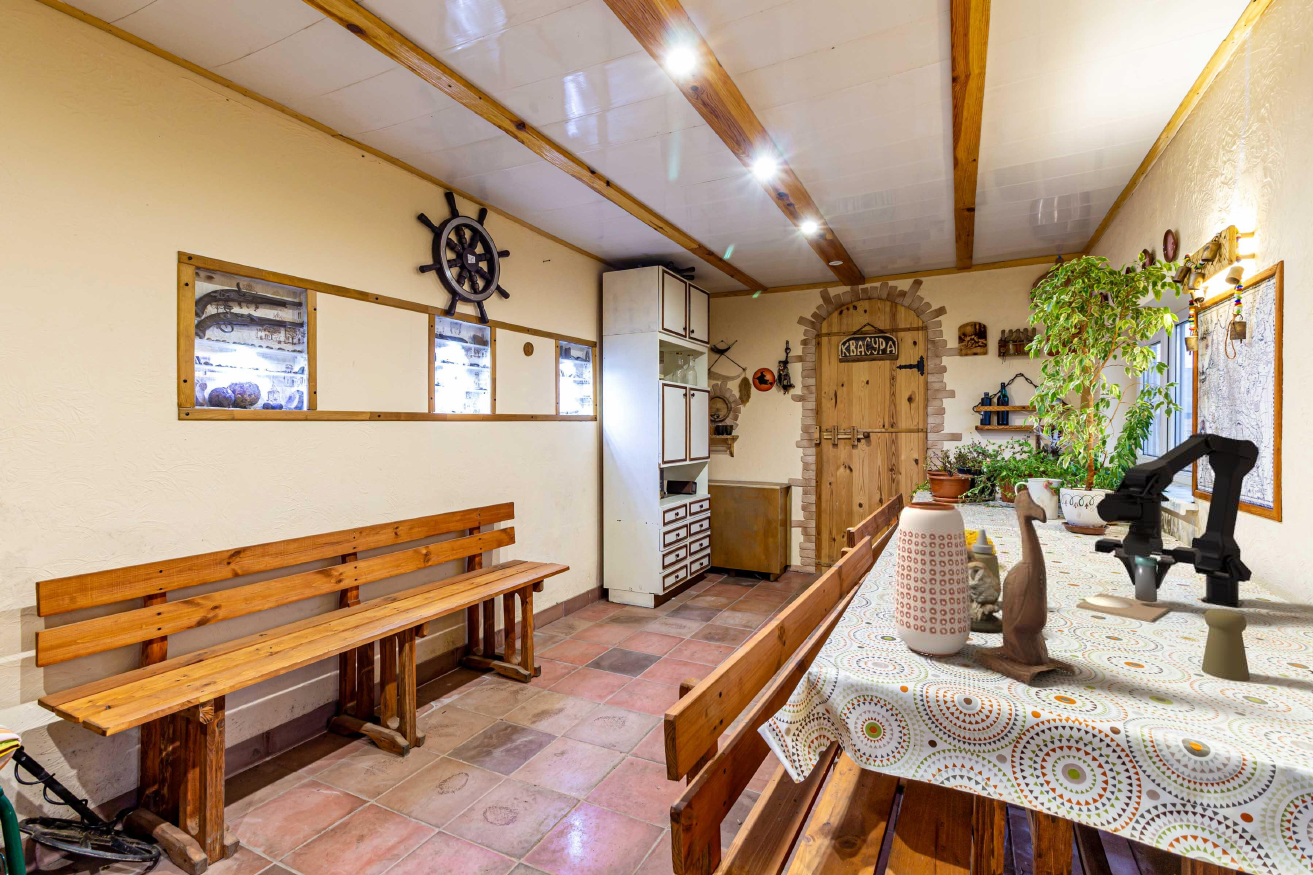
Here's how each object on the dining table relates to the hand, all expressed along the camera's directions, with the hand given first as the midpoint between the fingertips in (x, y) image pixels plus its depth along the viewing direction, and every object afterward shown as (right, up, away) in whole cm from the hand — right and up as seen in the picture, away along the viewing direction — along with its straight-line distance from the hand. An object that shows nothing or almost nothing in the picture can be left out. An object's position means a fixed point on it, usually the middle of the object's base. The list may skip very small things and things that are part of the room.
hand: (1146, 586), depth 140 cm
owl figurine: (-48, -6, -8) cm, 49 cm away
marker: (0, -3, 0) cm, 3 cm away
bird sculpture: (-51, -6, -35) cm, 62 cm away
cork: (-17, -6, -38) cm, 42 cm away
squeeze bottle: (-36, -6, +5) cm, 37 cm away
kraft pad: (-5, -5, 0) cm, 7 cm away
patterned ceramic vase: (-62, -6, -24) cm, 67 cm away
